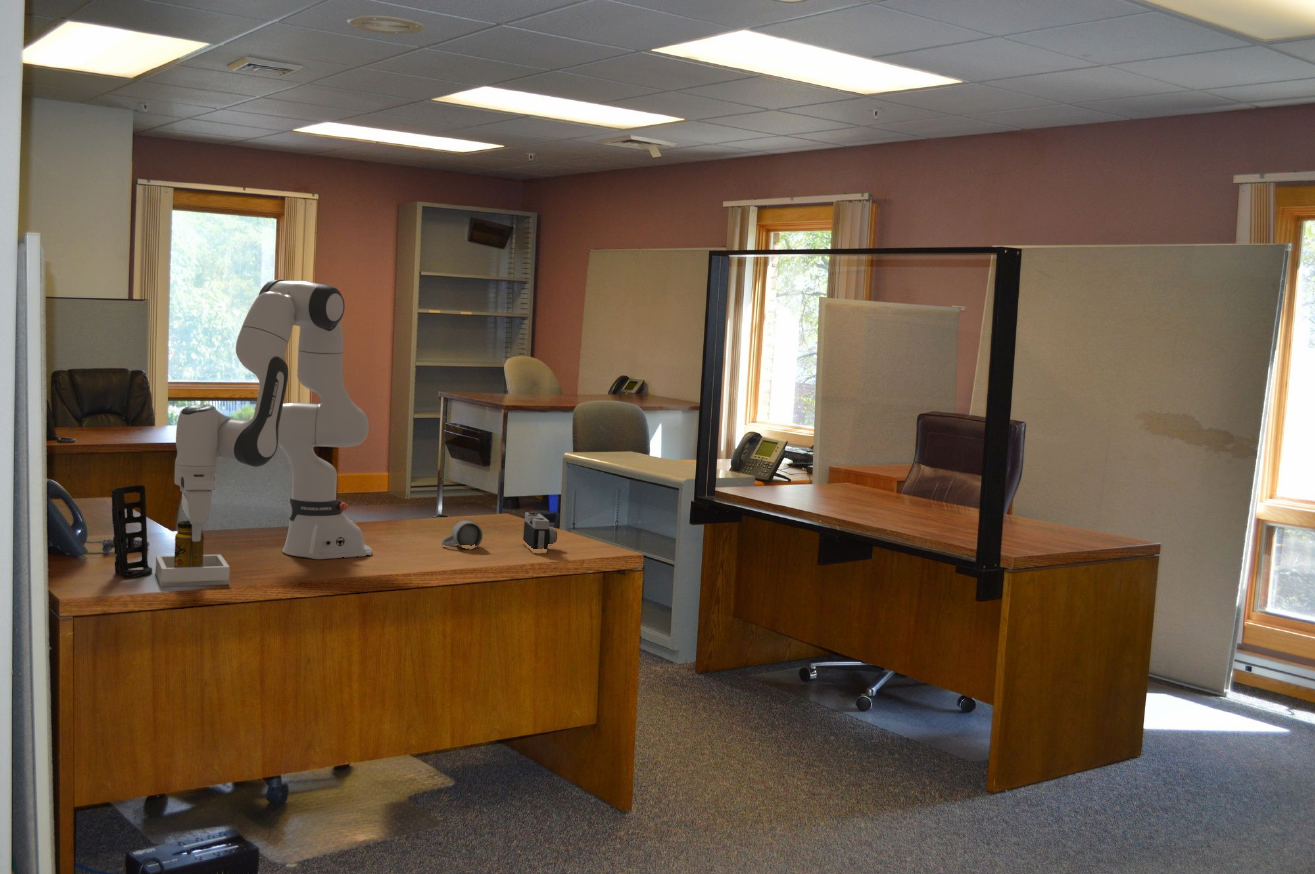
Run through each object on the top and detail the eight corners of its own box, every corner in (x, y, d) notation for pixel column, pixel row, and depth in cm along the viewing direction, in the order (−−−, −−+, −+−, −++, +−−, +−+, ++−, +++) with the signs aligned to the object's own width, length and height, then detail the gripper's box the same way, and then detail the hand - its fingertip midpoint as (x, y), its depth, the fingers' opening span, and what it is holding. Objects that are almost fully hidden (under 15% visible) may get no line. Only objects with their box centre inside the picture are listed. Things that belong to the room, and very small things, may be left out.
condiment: (164, 574, 255) (167, 521, 254) (194, 568, 263) (196, 517, 262) (188, 579, 252) (190, 526, 251) (217, 573, 260) (220, 522, 259)
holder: (140, 578, 252) (135, 490, 251) (105, 580, 252) (99, 491, 250) (158, 569, 263) (153, 484, 262) (124, 570, 263) (119, 485, 261)
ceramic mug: (475, 544, 324) (476, 517, 323) (482, 549, 316) (483, 522, 316) (438, 544, 320) (439, 518, 319) (444, 550, 312) (445, 523, 311)
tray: (220, 571, 267) (220, 554, 266) (228, 584, 254) (229, 566, 254) (155, 573, 260) (156, 555, 260) (161, 586, 248) (161, 568, 247)
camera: (560, 554, 319) (563, 519, 318) (532, 554, 316) (534, 518, 315) (549, 544, 332) (551, 511, 331) (521, 544, 329) (523, 510, 328)
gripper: (176, 469, 263) (174, 527, 264) (185, 483, 245) (183, 546, 247) (205, 469, 266) (203, 527, 267) (216, 483, 248) (213, 545, 250)
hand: (193, 536), depth 257 cm, fingers open, 8 cm apart
